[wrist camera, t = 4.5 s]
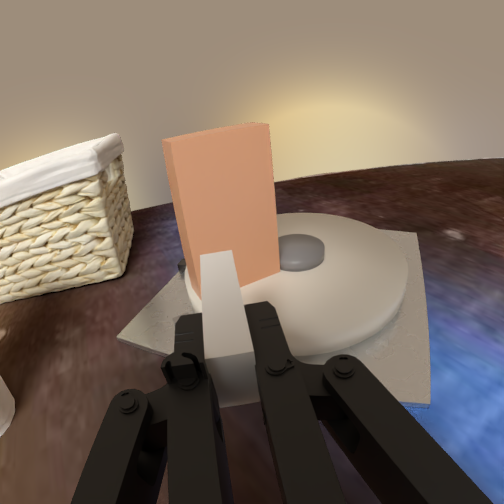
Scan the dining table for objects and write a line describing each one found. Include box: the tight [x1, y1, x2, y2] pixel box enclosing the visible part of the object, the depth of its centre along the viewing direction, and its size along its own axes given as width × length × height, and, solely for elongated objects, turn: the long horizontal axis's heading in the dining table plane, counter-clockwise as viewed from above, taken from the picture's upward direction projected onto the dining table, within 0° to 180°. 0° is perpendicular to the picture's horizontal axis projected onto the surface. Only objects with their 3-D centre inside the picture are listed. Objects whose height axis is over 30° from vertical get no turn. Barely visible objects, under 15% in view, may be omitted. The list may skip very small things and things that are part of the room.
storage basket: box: [0, 133, 134, 304], centre depth 34 cm, size 24×16×15 cm
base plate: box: [117, 229, 430, 408], centre depth 30 cm, size 24×24×1 cm
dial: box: [162, 122, 408, 356], centre depth 26 cm, size 20×20×14 cm
